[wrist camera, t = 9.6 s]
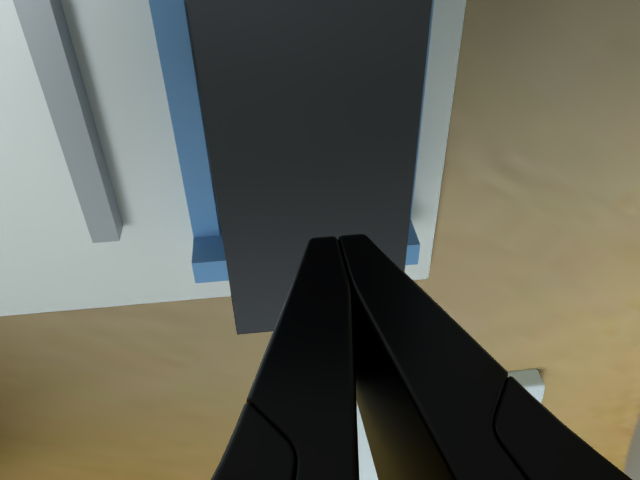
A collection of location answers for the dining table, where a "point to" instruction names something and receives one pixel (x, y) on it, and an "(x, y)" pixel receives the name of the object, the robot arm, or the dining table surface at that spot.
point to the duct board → (141, 155)
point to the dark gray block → (307, 131)
